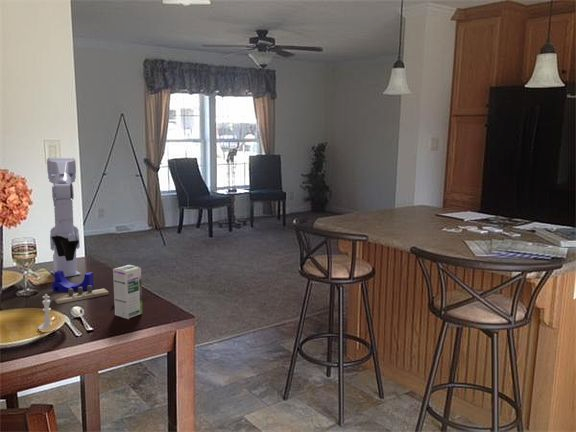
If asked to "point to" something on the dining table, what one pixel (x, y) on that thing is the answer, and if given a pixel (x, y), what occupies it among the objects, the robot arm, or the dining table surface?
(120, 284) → the syrup box
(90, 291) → the coat hook rack
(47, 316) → the chess piece
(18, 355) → the dining table surface
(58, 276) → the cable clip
